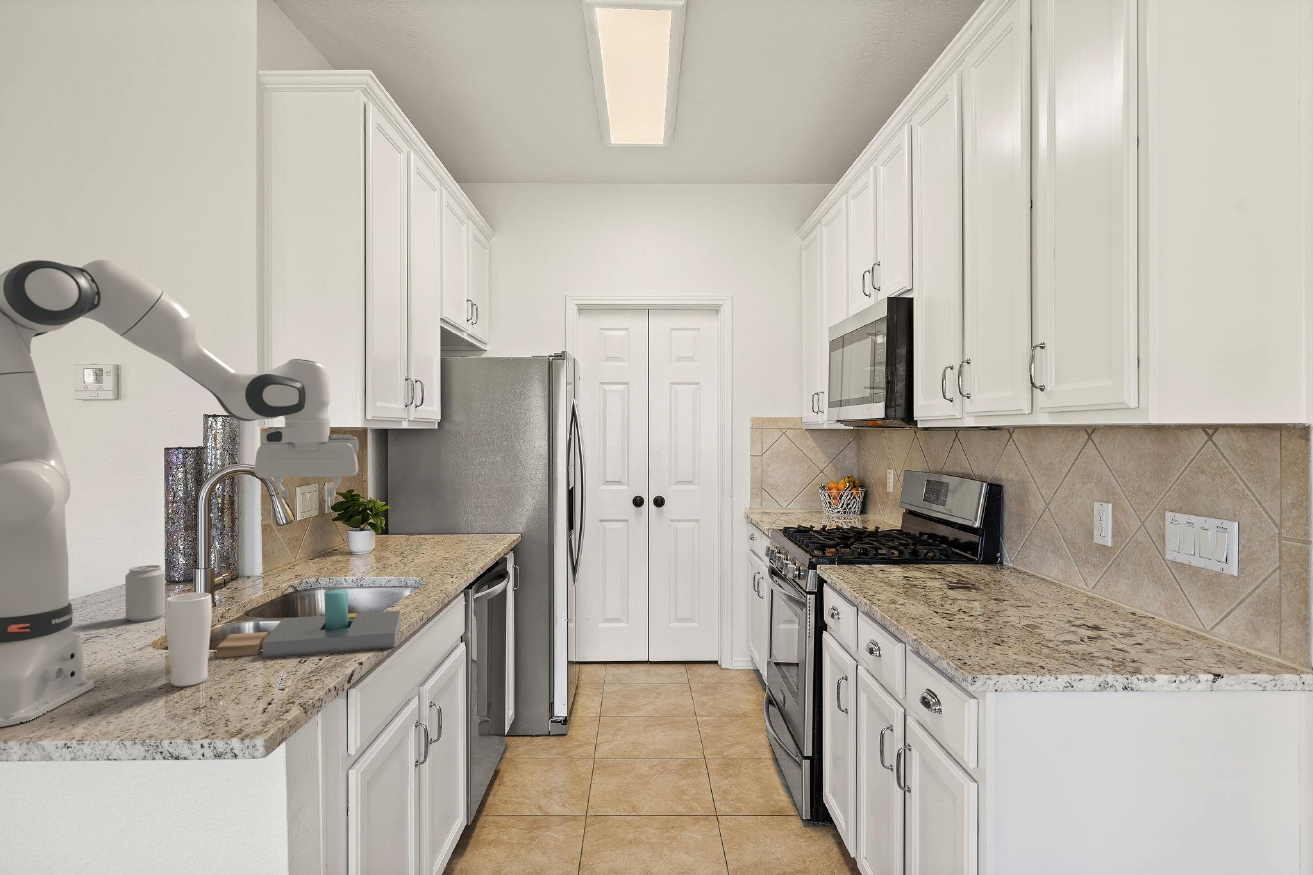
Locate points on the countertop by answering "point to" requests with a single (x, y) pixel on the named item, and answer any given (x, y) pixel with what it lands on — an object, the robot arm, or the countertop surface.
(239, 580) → the countertop surface
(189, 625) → the drinking glass
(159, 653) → the countertop surface
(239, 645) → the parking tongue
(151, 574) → the can
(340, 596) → the barrel peg
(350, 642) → the grey flat block
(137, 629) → the countertop surface
